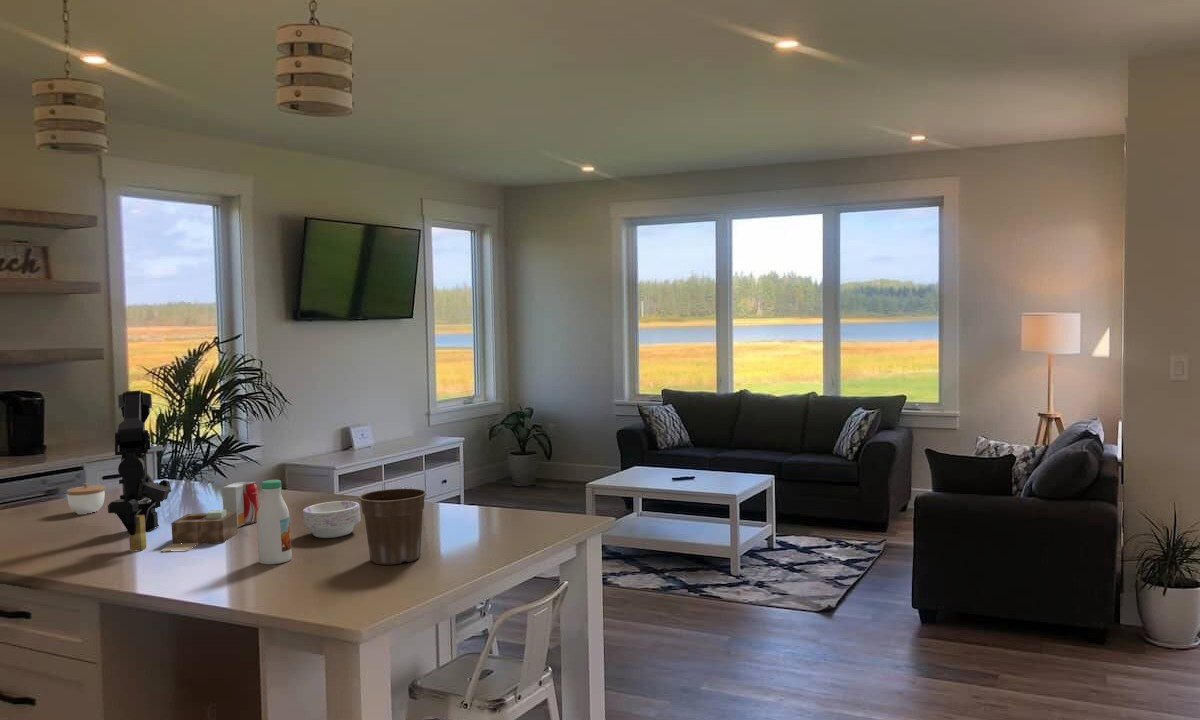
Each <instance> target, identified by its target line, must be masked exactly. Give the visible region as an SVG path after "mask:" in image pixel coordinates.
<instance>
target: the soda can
mask: <svg viewBox="0 0 1200 720" xmlns="http://www.w3.org/2000/svg"><path fill="white" fill-rule="evenodd" d="M233 484H243V485H244V488H243V501H244V521H245V523H246V524H245V525H251V524H254V522H255V523H257V512H258V508H259V506H260V504H259V503H260V502H259V492H258V491H259V490H258V489H259V488H258V486H257V484H256V481H255V480H240V481H236V482H233ZM250 523H251V524H250Z"/></svg>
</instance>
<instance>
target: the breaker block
mask: <svg viewBox="0 0 1200 720" xmlns="http://www.w3.org/2000/svg"><path fill="white" fill-rule="evenodd" d="M206 513H207V512H202V513H186V514H185V515H183V516H181V517H180V518H177V519H175V520H174V521H172V522H171V539H172V544H181V543H206V544H219V543H218V542H224V543H225V541H226V540H227V541H229V540H230V539H232V538H233V537H234V536H235V535H237V534H238V533H237V532H238V528H237V513H236V512H227V516H225V517H224V518H217V519H207V517H206ZM236 533H237V534H236ZM233 535H234V536H233ZM232 536H233V537H232ZM229 538H230V539H229ZM227 541H226V542H227Z"/></svg>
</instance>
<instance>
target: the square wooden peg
mask: <svg viewBox="0 0 1200 720" xmlns="http://www.w3.org/2000/svg"><path fill="white" fill-rule="evenodd" d="M128 537H129V538H128V539H129V540H128V543H129V552H136V551H135V550H142V549H144V548H146V547H147V531H146V529H145V515H137V520H136V532H135V535H130V534H129V533H128ZM146 549H147V548H146ZM144 550H145V549H144ZM142 551H143V550H142Z"/></svg>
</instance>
